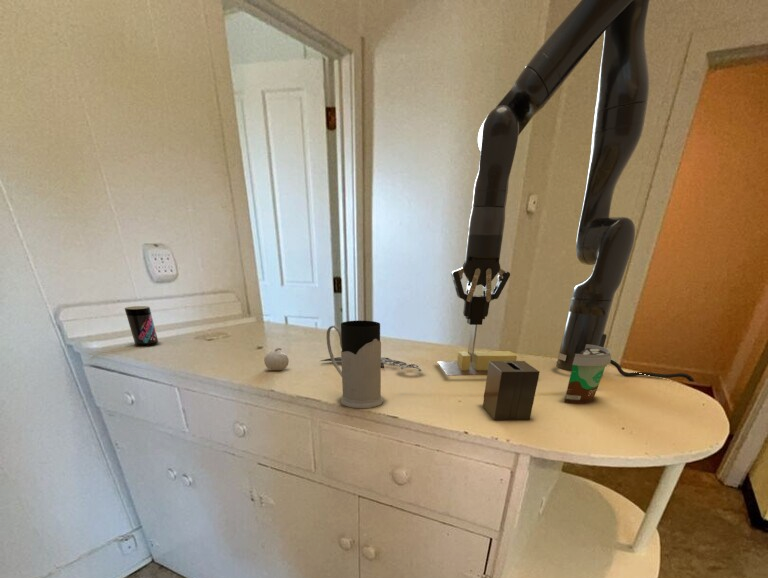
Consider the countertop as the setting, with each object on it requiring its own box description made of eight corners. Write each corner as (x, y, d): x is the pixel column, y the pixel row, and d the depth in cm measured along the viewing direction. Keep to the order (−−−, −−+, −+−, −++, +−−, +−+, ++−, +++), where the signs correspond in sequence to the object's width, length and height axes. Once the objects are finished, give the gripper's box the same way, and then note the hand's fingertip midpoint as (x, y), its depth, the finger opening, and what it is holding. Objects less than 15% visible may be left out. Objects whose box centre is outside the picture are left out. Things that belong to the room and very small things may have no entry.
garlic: (287, 366, 112) (285, 345, 109) (290, 371, 108) (288, 349, 105) (264, 367, 110) (261, 346, 107) (266, 373, 106) (263, 351, 103)
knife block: (515, 405, 88) (524, 360, 83) (529, 419, 81) (539, 371, 76) (482, 406, 87) (489, 360, 82) (494, 420, 80) (501, 371, 75)
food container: (593, 409, 86) (608, 358, 81) (562, 403, 89) (574, 354, 84) (603, 394, 95) (617, 347, 90) (574, 389, 98) (586, 343, 92)
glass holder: (361, 411, 83) (360, 329, 75) (315, 395, 91) (309, 320, 83) (391, 401, 89) (393, 323, 81) (345, 387, 97) (342, 315, 89)
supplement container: (135, 347, 128) (124, 309, 122) (134, 343, 133) (123, 306, 127) (160, 345, 131) (150, 308, 125) (157, 341, 136) (148, 305, 130)
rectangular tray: (516, 365, 116) (517, 360, 115) (535, 379, 104) (536, 374, 104) (436, 365, 114) (437, 361, 114) (447, 380, 103) (447, 375, 102)
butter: (508, 365, 111) (510, 351, 109) (514, 370, 107) (516, 355, 105) (470, 365, 111) (472, 351, 109) (475, 370, 106) (477, 355, 104)
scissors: (318, 358, 114) (339, 349, 121) (319, 364, 114) (339, 355, 122) (414, 374, 102) (431, 363, 110) (414, 381, 103) (430, 369, 110)
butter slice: (464, 365, 110) (466, 351, 109) (469, 370, 106) (470, 355, 104) (457, 365, 110) (458, 351, 108) (461, 370, 106) (462, 355, 104)
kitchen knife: (473, 358, 109) (481, 295, 101) (477, 362, 106) (486, 297, 98) (462, 358, 109) (469, 295, 101) (465, 362, 106) (473, 296, 98)
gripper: (457, 232, 89) (449, 321, 98) (522, 233, 90) (508, 321, 99) (450, 232, 95) (443, 316, 105) (511, 233, 96) (498, 316, 106)
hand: (475, 318), depth 102 cm, fingers closed on kitchen knife, 3 cm apart
